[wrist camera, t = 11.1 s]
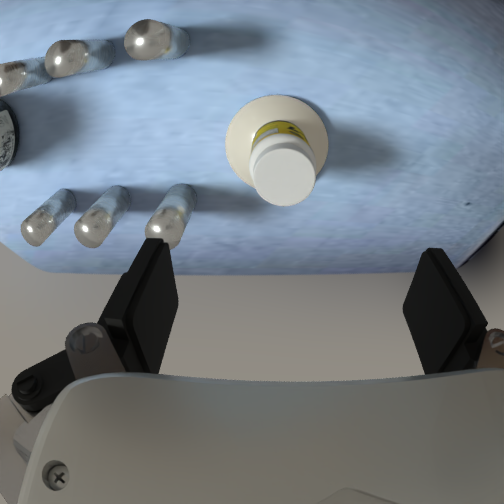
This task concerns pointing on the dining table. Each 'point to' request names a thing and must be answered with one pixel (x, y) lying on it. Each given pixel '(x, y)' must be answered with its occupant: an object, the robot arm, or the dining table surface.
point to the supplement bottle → (282, 163)
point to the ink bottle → (7, 135)
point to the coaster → (262, 113)
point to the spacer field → (116, 197)
